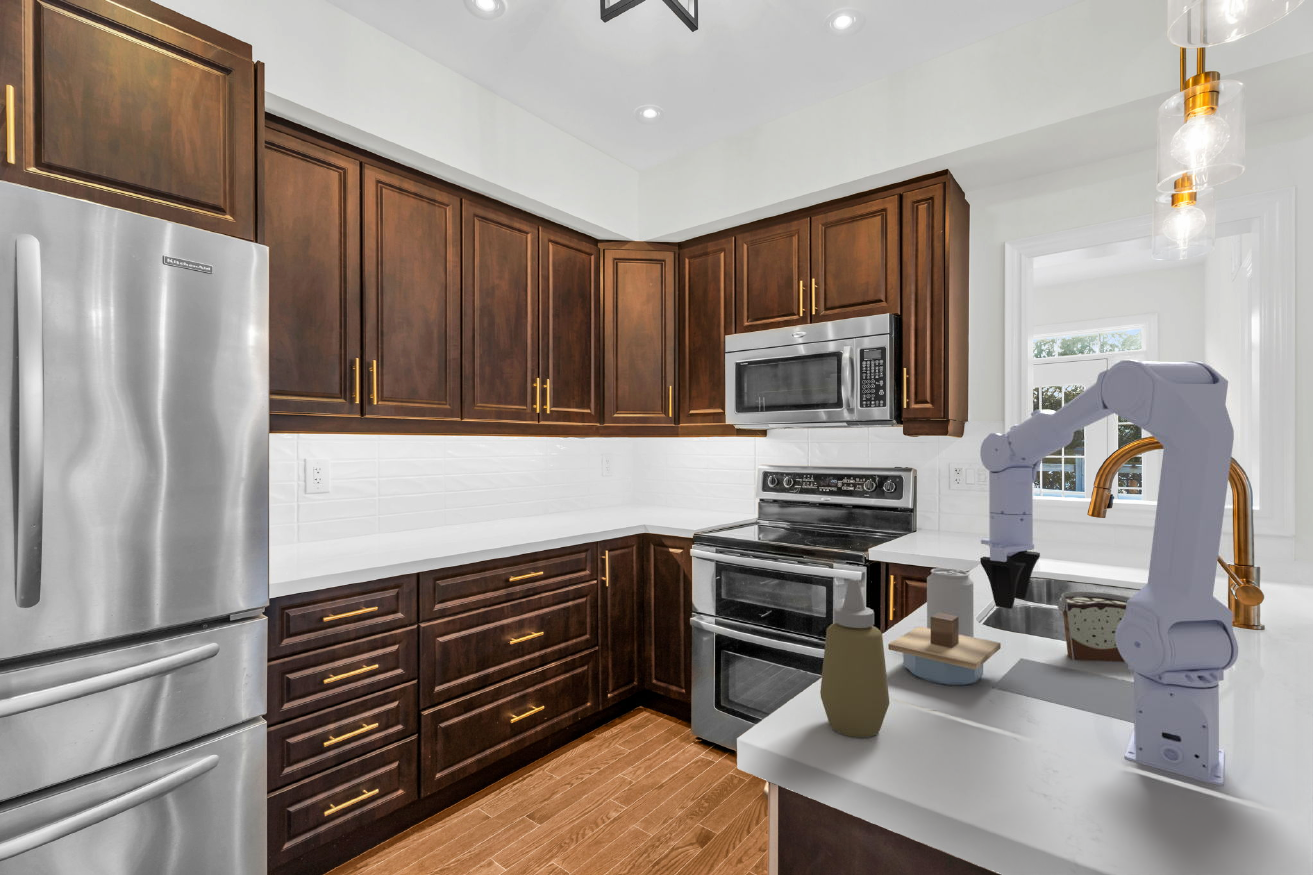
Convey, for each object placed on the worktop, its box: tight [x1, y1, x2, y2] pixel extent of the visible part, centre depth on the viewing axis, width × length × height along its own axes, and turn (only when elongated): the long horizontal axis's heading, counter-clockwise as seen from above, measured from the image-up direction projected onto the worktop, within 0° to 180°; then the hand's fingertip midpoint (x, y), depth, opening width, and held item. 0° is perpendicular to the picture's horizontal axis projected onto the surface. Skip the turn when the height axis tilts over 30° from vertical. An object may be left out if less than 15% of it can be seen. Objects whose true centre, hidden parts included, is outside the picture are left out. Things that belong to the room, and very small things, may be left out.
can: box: [926, 567, 975, 638], centre depth 109 cm, size 8×8×12 cm
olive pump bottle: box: [819, 578, 891, 738], centre depth 75 cm, size 8×8×18 cm
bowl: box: [902, 653, 984, 686], centre depth 92 cm, size 10×10×4 cm
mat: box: [991, 658, 1134, 724], centre depth 87 cm, size 16×16×1 cm
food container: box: [1057, 591, 1131, 663], centre depth 100 cm, size 12×6×10 cm, turn 84°
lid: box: [887, 613, 1002, 670], centre depth 92 cm, size 12×12×5 cm
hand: (1010, 602), depth 94 cm, fingers open, 7 cm apart
